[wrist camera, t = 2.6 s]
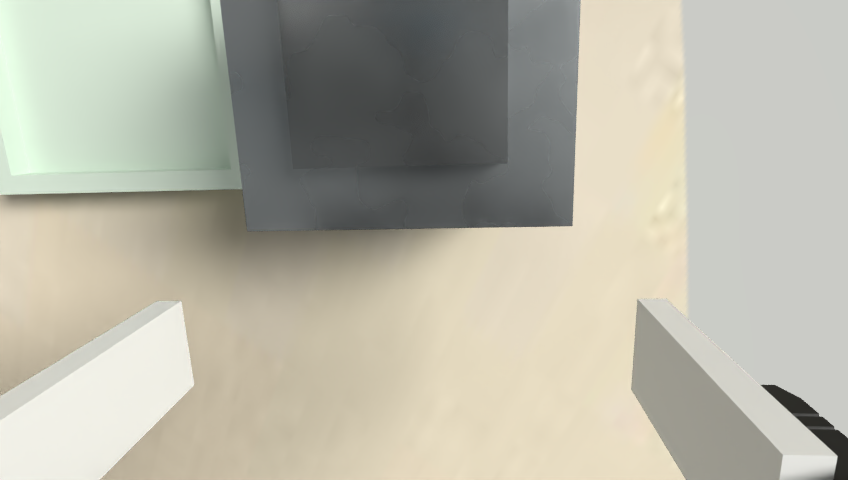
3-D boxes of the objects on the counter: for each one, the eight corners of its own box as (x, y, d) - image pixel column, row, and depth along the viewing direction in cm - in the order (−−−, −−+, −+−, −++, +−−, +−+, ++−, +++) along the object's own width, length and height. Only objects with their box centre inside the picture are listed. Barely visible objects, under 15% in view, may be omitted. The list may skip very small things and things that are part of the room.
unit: (312, -33, 25) (161, -179, 13) (539, -46, 24) (620, -219, 12) (330, 191, 28) (219, 255, 15) (535, 186, 27) (597, 250, 14)
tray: (-42, -131, 25) (-83, -152, 23) (230, -154, 24) (210, -177, 22) (29, 189, 29) (-2, 194, 27) (267, 183, 28) (252, 188, 26)
